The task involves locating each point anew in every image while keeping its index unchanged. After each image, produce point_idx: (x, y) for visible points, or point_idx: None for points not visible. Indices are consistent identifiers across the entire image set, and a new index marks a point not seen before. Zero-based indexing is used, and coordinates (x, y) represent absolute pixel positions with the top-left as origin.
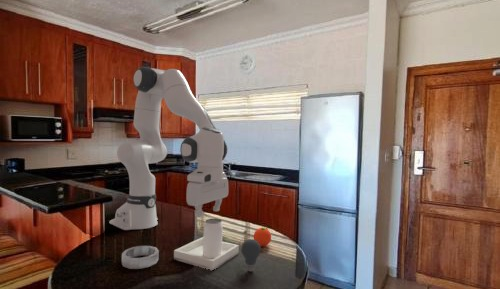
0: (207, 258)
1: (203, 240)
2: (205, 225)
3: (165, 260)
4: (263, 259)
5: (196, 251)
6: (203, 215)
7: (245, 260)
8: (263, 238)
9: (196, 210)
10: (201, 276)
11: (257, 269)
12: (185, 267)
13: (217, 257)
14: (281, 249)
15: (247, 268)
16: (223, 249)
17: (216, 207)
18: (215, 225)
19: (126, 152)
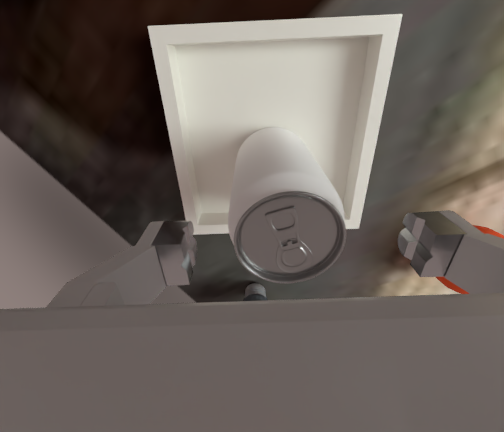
0: (191, 209)
1: (243, 158)
2: (234, 209)
3: (125, 3)
4: (339, 281)
5: (267, 81)
6: (191, 261)
7: (247, 300)
8: (439, 278)
9: (116, 258)
10: (148, 212)
11: (274, 292)
12: (149, 133)
13: (221, 228)
14: (432, 289)
15: (247, 289)
16: (343, 164)
17: (418, 263)
18: (253, 266)
19: None
